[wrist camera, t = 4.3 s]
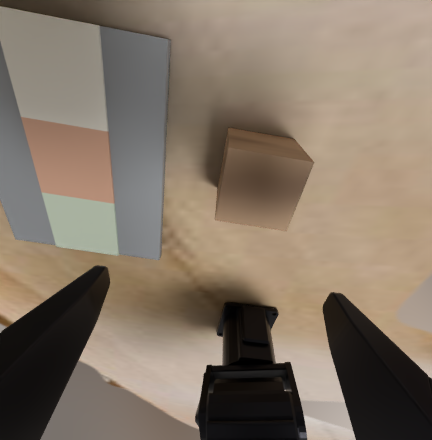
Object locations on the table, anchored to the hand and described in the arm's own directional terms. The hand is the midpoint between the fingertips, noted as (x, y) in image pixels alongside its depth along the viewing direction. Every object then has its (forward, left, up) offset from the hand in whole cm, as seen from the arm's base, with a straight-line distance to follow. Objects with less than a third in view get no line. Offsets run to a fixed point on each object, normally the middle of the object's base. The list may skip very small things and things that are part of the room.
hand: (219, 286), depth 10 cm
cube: (+1, -2, -12) cm, 12 cm away
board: (-1, +12, -12) cm, 17 cm away
